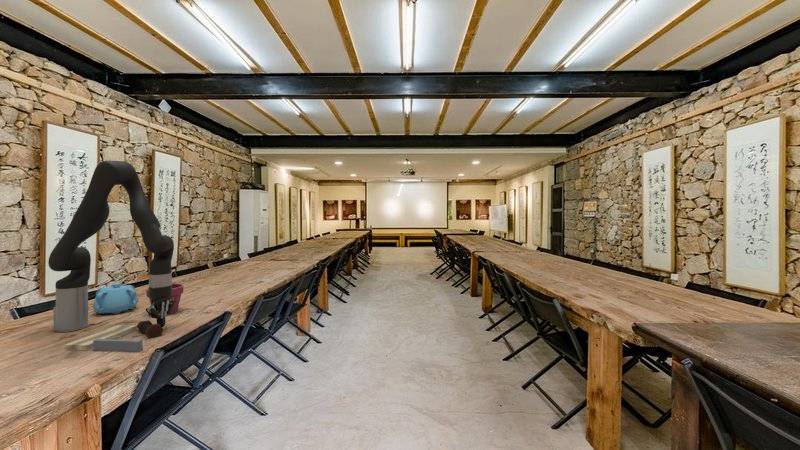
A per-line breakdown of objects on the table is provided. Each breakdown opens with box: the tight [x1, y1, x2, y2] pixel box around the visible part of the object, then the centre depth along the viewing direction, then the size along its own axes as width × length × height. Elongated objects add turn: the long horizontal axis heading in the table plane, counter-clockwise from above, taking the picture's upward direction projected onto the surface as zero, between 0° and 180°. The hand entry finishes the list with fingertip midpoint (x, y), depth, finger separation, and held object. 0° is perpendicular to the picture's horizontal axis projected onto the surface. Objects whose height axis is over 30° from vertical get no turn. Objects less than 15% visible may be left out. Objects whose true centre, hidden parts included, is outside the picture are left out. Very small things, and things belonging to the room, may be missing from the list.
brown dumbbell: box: [136, 320, 164, 340], centre depth 126 cm, size 6×5×15 cm
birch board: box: [64, 324, 138, 351], centre depth 119 cm, size 8×20×2 cm, turn 179°
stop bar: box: [92, 338, 144, 353], centre depth 110 cm, size 16×2×4 cm, turn 89°
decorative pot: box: [92, 282, 139, 315], centre depth 154 cm, size 16×16×14 cm
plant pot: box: [146, 283, 184, 316], centre depth 152 cm, size 14×14×13 cm
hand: (161, 326), depth 129 cm, fingers closed
